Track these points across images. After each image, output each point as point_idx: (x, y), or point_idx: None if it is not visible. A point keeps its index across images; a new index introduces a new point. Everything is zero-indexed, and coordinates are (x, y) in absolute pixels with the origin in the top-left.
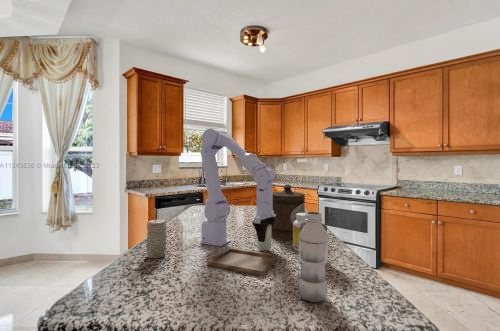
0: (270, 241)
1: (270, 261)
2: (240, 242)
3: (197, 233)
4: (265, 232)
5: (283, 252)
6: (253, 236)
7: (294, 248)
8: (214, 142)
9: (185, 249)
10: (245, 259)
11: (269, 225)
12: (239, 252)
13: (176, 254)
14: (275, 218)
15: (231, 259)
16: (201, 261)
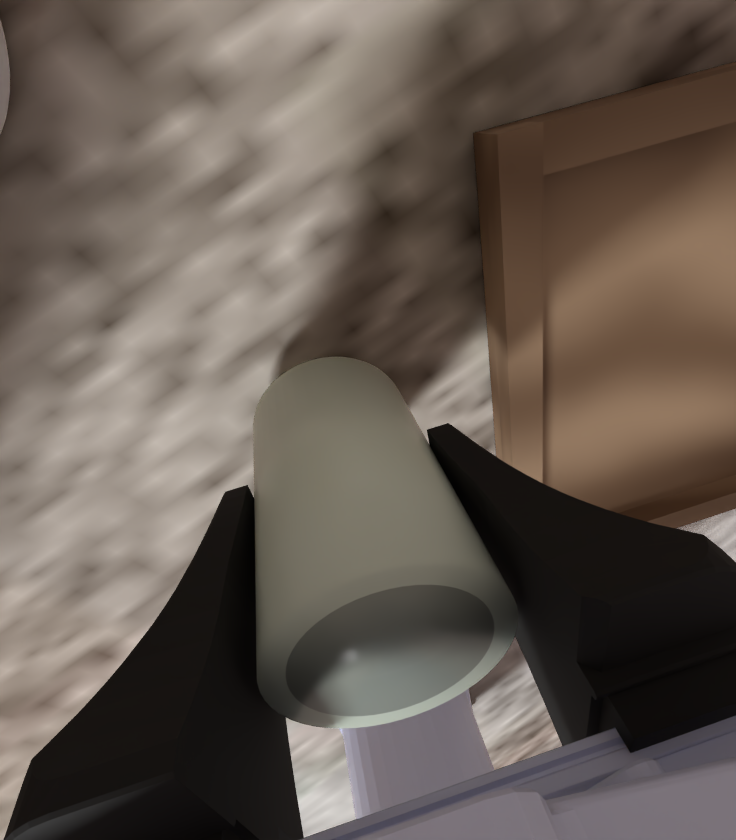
0: (335, 400)
1: (734, 82)
2: None
3: (337, 812)
4: (513, 486)
5: (218, 214)
6: (78, 687)
7: (4, 111)
8: None
9: None
10: (646, 365)
11: (354, 608)
12: None
13: None
14: (70, 793)
15: (673, 435)
16: (706, 531)
